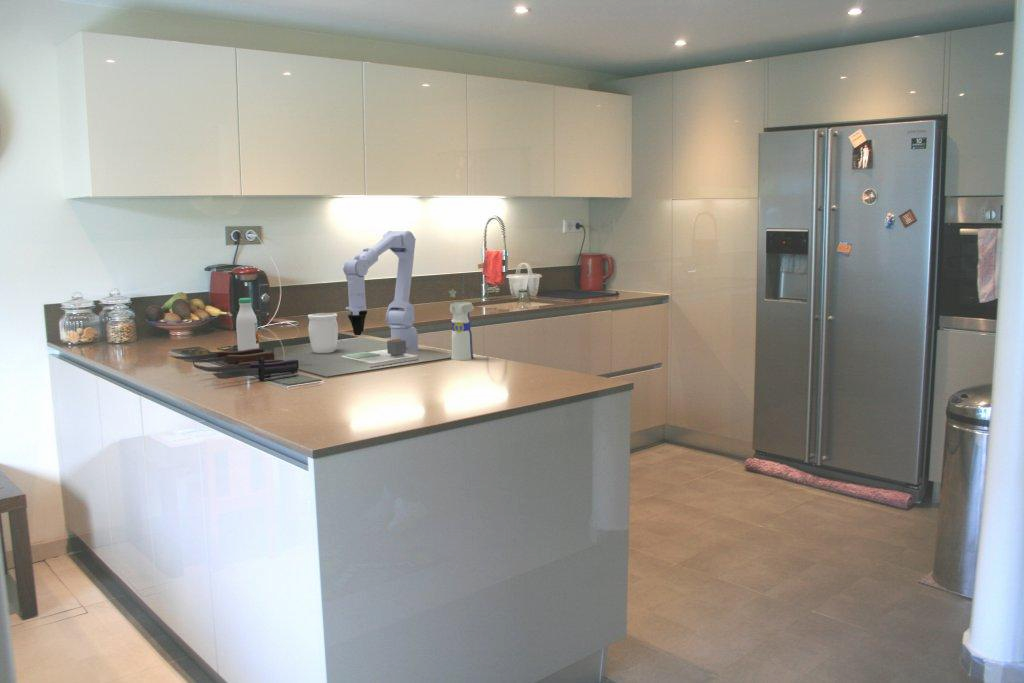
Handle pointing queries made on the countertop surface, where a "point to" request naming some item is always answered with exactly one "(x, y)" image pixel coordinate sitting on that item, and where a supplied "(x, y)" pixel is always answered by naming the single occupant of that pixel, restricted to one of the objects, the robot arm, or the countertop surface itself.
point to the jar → (323, 332)
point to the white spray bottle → (461, 330)
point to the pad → (361, 355)
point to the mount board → (384, 357)
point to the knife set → (244, 363)
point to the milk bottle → (246, 326)
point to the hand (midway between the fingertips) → (358, 333)
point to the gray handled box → (396, 346)
